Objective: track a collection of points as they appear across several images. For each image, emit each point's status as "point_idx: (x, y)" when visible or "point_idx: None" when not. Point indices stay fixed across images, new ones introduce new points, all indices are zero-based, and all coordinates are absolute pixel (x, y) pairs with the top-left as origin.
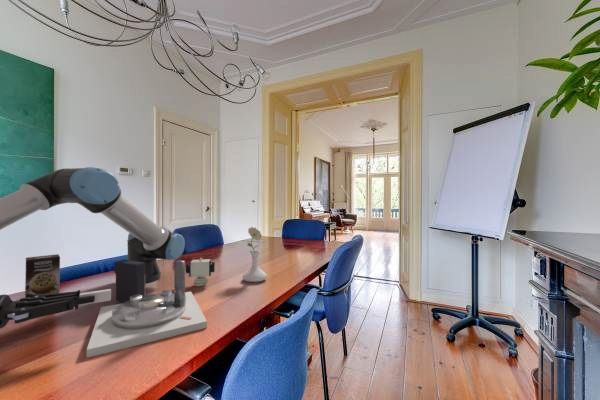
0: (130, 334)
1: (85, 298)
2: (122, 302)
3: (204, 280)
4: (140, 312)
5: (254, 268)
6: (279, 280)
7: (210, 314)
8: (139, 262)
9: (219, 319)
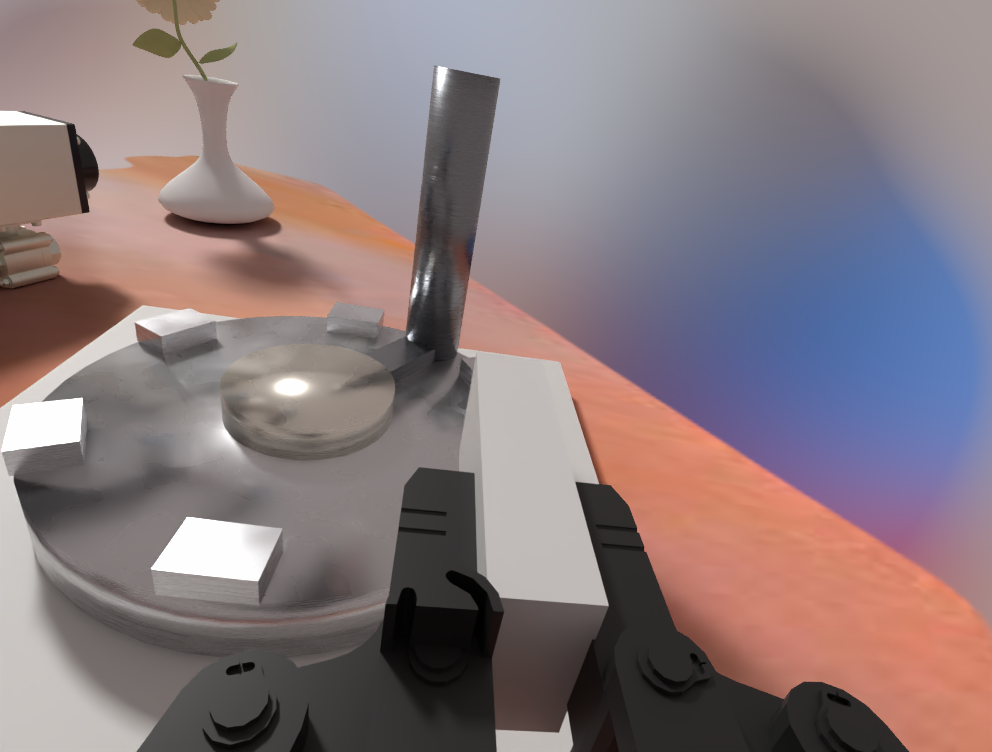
0: None
1: (647, 566)
2: None
3: (45, 246)
4: (409, 462)
5: (228, 164)
6: (300, 208)
7: None
8: None
9: (503, 352)
